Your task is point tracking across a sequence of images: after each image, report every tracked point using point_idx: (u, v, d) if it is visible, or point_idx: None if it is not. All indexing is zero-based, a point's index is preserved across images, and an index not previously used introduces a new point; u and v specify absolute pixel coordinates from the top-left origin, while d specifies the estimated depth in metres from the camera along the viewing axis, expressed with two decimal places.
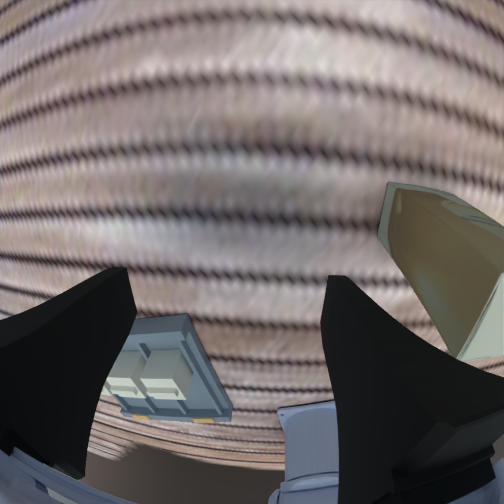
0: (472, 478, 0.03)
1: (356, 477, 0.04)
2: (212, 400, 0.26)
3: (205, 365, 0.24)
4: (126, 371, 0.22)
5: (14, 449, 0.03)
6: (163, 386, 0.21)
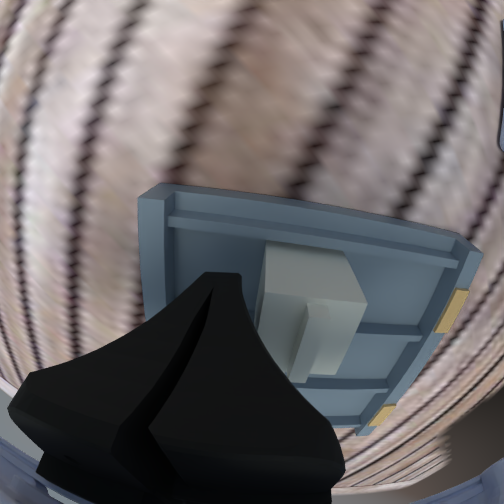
0: None
1: None
2: (406, 254, 0.10)
3: (295, 208, 0.10)
4: None
5: (14, 449, 0.03)
6: (292, 333, 0.08)
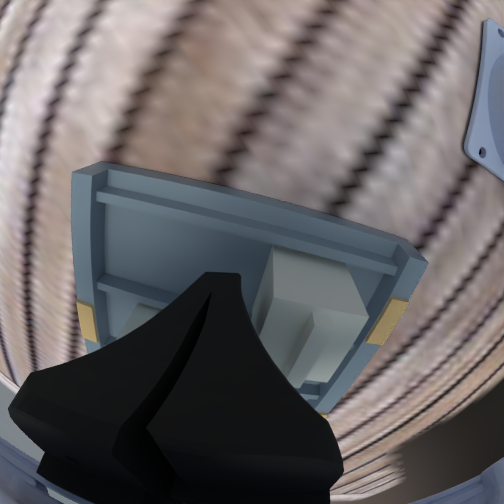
0: None
1: None
2: (331, 252, 0.10)
3: (214, 193, 0.10)
4: None
5: (14, 449, 0.03)
6: (293, 339, 0.08)
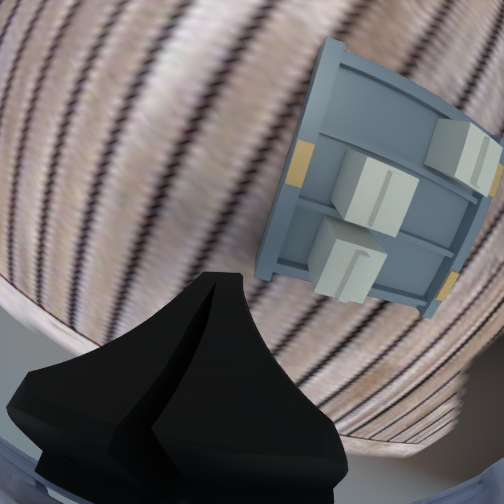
0: None
1: None
2: None
3: (408, 80, 0.12)
4: (357, 169, 0.12)
5: (14, 449, 0.03)
6: (476, 153, 0.11)
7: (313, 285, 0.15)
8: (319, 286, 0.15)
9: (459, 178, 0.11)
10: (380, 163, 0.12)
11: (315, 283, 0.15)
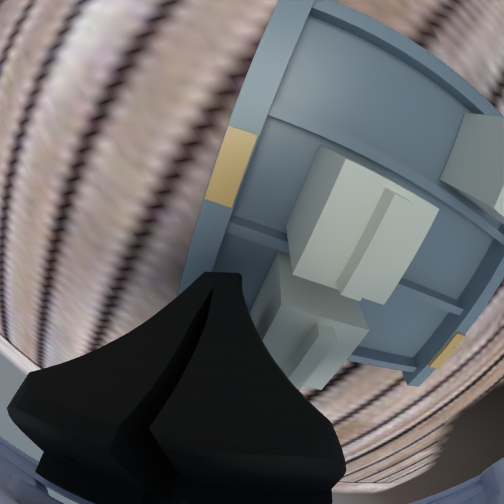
0: None
1: None
2: None
3: (424, 51, 0.07)
4: (326, 181, 0.07)
5: (14, 449, 0.03)
6: None
7: None
8: None
9: (500, 211, 0.06)
10: (371, 174, 0.06)
11: None
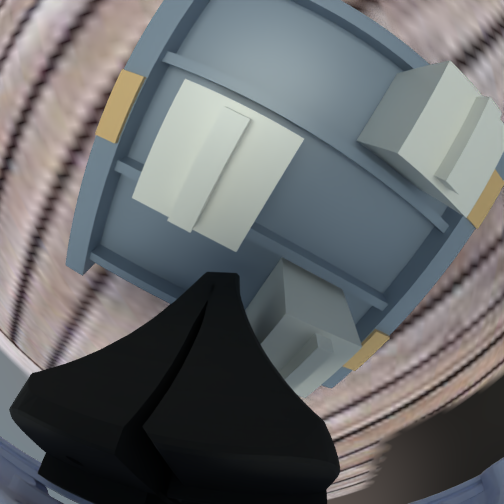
0: None
1: None
2: None
3: (352, 9, 0.07)
4: None
5: (14, 449, 0.03)
6: (457, 123, 0.05)
7: None
8: None
9: (410, 161, 0.06)
10: (211, 93, 0.05)
11: None
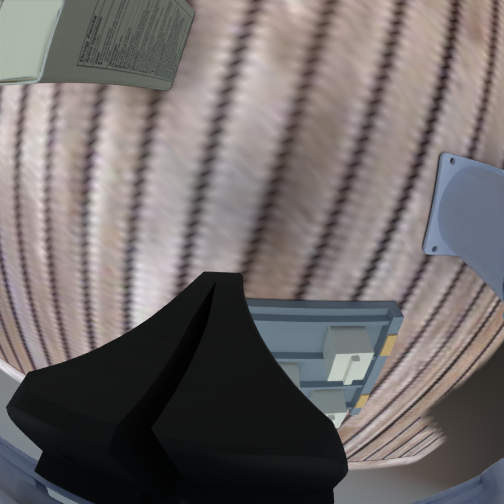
0: None
1: None
2: (355, 323, 0.21)
3: (298, 308, 0.21)
4: None
5: (14, 449, 0.03)
6: (345, 366, 0.19)
7: None
8: None
9: (332, 380, 0.20)
10: None
11: None
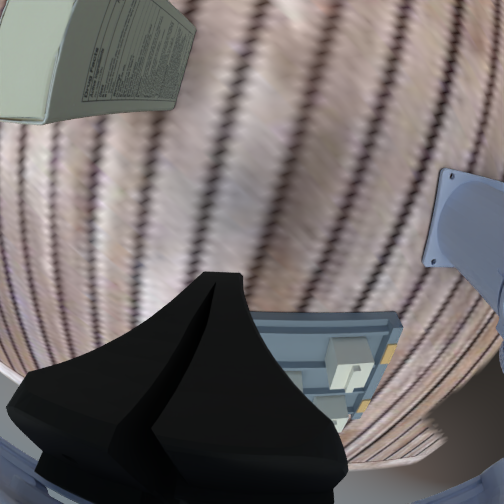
0: None
1: None
2: (357, 334, 0.21)
3: (302, 321, 0.22)
4: None
5: (14, 449, 0.03)
6: (346, 375, 0.20)
7: None
8: None
9: (334, 388, 0.21)
10: None
11: None
